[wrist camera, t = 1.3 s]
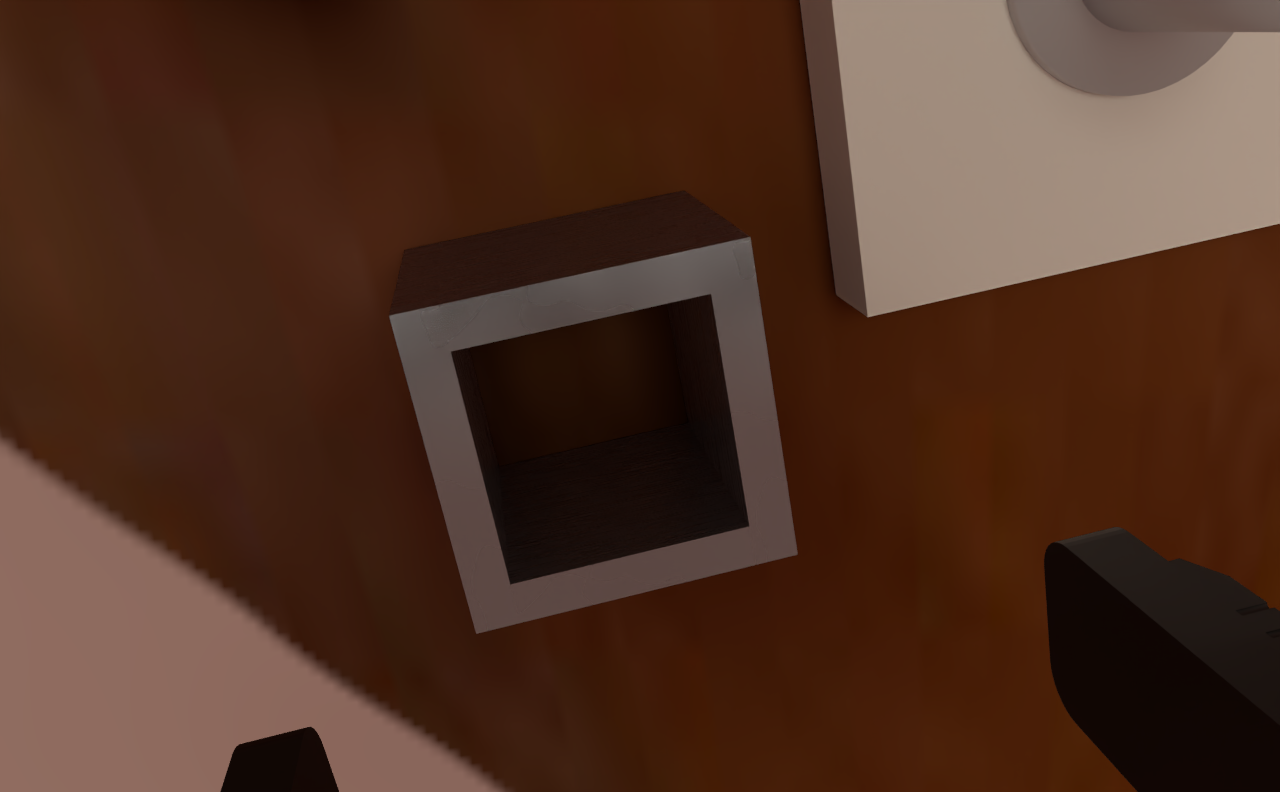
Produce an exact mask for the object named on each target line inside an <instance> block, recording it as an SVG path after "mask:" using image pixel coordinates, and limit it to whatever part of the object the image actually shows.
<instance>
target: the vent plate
mask: <svg viewBox="0 0 1280 792" xmlns="http://www.w3.org/2000/svg"><path fill="white" fill-rule="evenodd" d="M800 7H801V15H802V23H803V31H804V40H805V48H806V56H807V64H808V72H809V80H810V88H811V96H812V104H813V112H814V121H815V129H816V137H817V145H818V153H819V161H820V169H821V177H822V185H823V193H824V202H825V210H826V218H827V226H828V234H829V242H830V250H831V258H832V266H833V274H834V283H835V291H836V295H837V296H838V297H840V298H841V299H842V300H844V301H845V302H847V303H848V304H850V305H851V306H852V307H854V308H855V309H857V310H858V311H860V312H861V313H862V314H864V315H865V316H867V317H871V316H875V315H880V314H884V313H889V312H893V311H897V310H902V309H906V308H911V307H915V306H919V305H924V304H928V303H933V302H937V301H941V300H946V299H950V298H955V297H959V296H963V295H968V294H972V293H977V292H981V291H985V290H990V289H994V288H999V287H1003V286H1007V285H1012V284H1016V283H1021V282H1025V281H1029V280H1034V279H1038V278H1043V277H1047V276H1051V275H1056V274H1060V273H1065V272H1069V271H1073V270H1078V269H1082V268H1087V267H1091V266H1095V265H1100V264H1104V263H1108V262H1113V261H1117V260H1122V259H1126V258H1130V257H1135V256H1139V255H1144V254H1148V253H1152V252H1157V251H1161V250H1166V249H1170V248H1174V247H1179V246H1183V245H1188V244H1192V243H1196V242H1201V241H1205V240H1210V239H1214V238H1218V237H1223V236H1227V235H1232V234H1236V233H1240V232H1245V231H1249V230H1254V229H1258V228H1262V227H1267V226H1271V225H1276V224H1280V0H800Z"/></svg>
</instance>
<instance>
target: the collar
mask: <svg viewBox="0 0 1280 792" xmlns="http://www.w3.org/2000/svg"><path fill="white" fill-rule="evenodd" d="M663 304H667V307H668V313H669V318H670V324H671V330H672V335H673V341H674V346H675V352H676V357H677V363H678V368H679V374H680V379H681V385H682V391H683V396H684V402H685V407H686V413H687V418H688V423H685V424H681V425H676V426H672V427H668V428H663V429H659V430H655V431H651V432H646V433H642V434H638V435H633V436H629V437H625V438H621V439H616V440H612V441H608V442H603V443H599V444H595V445H590V446H586V447H582V448H578V449H573V450H569V451H565V452H560V453H556V454H552V455H548V456H543V457H539V458H535V459H530V460H526V461H522V462H518V463H513V464H509V465H505V466H500V467H499V466H498V462H497V458H496V454H495V450H494V446H493V442H492V438H491V434H490V430H489V426H488V422H487V418H486V414H485V410H484V406H483V402H482V398H481V394H480V390H479V386H478V382H477V378H476V374H475V370H474V366H473V362H472V358H471V354H470V350H469V347H474V346H478V345H483V344H487V343H492V342H496V341H501V340H505V339H510V338H514V337H519V336H523V335H528V334H532V333H537V332H541V331H546V330H550V329H555V328H559V327H564V326H568V325H573V324H577V323H582V322H586V321H591V320H595V319H600V318H604V317H609V316H613V315H618V314H622V313H627V312H631V311H636V310H640V309H645V308H649V307H654V306H658V305H663ZM389 317H390V321H391V325H392V328H393V332H394V336H395V339H396V343H397V347H398V350H399V354H400V358H401V361H402V365H403V369H404V372H405V376H406V379H407V383H408V387H409V390H410V394H411V398H412V401H413V405H414V409H415V412H416V416H417V420H418V423H419V427H420V431H421V434H422V438H423V441H424V445H425V449H426V452H427V456H428V460H429V463H430V467H431V471H432V474H433V478H434V482H435V485H436V489H437V492H438V496H439V500H440V503H441V507H442V511H443V514H444V518H445V522H446V525H447V529H448V533H449V536H450V540H451V544H452V547H453V551H454V554H455V558H456V562H457V565H458V569H459V573H460V576H461V580H462V584H463V587H464V591H465V595H466V598H467V602H468V606H469V609H470V613H471V616H472V620H473V624H474V627H475V631H476V634H477V633H481V632H486V631H490V630H494V629H498V628H502V627H506V626H510V625H514V624H518V623H522V622H526V621H530V620H534V619H538V618H542V617H546V616H550V615H555V614H559V613H563V612H567V611H571V610H575V609H579V608H583V607H587V606H591V605H595V604H599V603H603V602H607V601H611V600H615V599H619V598H623V597H628V596H632V595H636V594H640V593H644V592H648V591H652V590H656V589H660V588H664V587H668V586H672V585H676V584H680V583H684V582H688V581H692V580H696V579H701V578H705V577H709V576H713V575H717V574H721V573H725V572H729V571H733V570H737V569H741V568H745V567H749V566H753V565H757V564H761V563H765V562H769V561H774V560H778V559H782V558H786V557H790V556H794V555H798V553H797V546H796V540H795V533H794V526H793V519H792V513H791V506H790V499H789V493H788V486H787V479H786V473H785V466H784V459H783V452H782V446H781V439H780V432H779V426H778V419H777V412H776V405H775V399H774V392H773V385H772V379H771V372H770V365H769V359H768V352H767V345H766V338H765V332H764V325H763V318H762V312H761V305H760V298H759V291H758V285H757V278H756V271H755V265H754V258H753V251H752V245H751V238H750V236H748V235H747V234H745V233H744V232H743V231H741V230H740V229H738V228H737V227H736V226H734V225H733V224H731V223H730V222H728V221H727V220H726V219H724V218H723V217H721V216H720V215H719V214H717V213H716V212H714V211H713V210H711V209H710V208H709V207H707V206H706V205H704V204H703V203H701V202H700V201H699V200H697V199H696V198H694V197H693V196H692V195H690V194H689V193H687V192H686V191H679V192H675V193H670V194H665V195H661V196H656V197H651V198H647V199H642V200H637V201H632V202H628V203H623V204H618V205H614V206H609V207H604V208H600V209H595V210H590V211H586V212H581V213H576V214H571V215H567V216H562V217H557V218H553V219H548V220H543V221H539V222H534V223H529V224H524V225H520V226H515V227H510V228H506V229H501V230H496V231H492V232H487V233H482V234H477V235H473V236H468V237H463V238H459V239H454V240H449V241H445V242H440V243H435V244H431V245H426V246H421V247H416V248H412V249H407V250H404V254H403V258H402V263H401V267H400V271H399V275H398V280H397V284H396V288H395V292H394V297H393V301H392V305H391V310H390V314H389Z"/></svg>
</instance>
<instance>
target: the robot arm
mask: <svg viewBox="0 0 1280 792" xmlns="http://www.w3.org/2000/svg"><path fill="white" fill-rule="evenodd" d="M1044 569H1045V585H1046V600H1047V616H1048V631H1049V647H1050V662H1051V669H1052V674H1053V678H1054V682H1055V685H1056V688H1057V691H1058V693H1059V696H1060V698H1061V700H1062V702H1063V704H1064V706H1065V708H1066V710H1067V712H1068V713H1069V715H1070V716H1071V718H1072V719H1073V720H1074V721H1075V723H1076V724H1077V725H1078V726H1079V727H1080V728H1081V729H1082V731H1083V732H1084V733H1085V734H1086V735H1087V736H1088V737H1089V738H1090V739H1091V741H1092V742H1093V743H1094V744H1095V745H1096V746H1097V747H1098V748H1099V749H1100V751H1101V752H1102V753H1103V754H1104V755H1105V756H1106V757H1107V758H1108V759H1109V760H1110V762H1111V763H1112V764H1113V765H1114V766H1115V767H1116V768H1117V769H1118V770H1119V772H1120V773H1121V774H1122V775H1123V776H1124V777H1125V778H1126V779H1127V780H1128V782H1129V783H1130V784H1131V785H1132V786H1133V787H1134V788H1135V789H1136V790H1137V792H1280V611H1278V610H1277V609H1276V608H1271V609H1269V607H1268V606H1267V602H1266V601H1264V600H1263V599H1261V598H1260V597H1258V596H1257V595H1255V594H1254V593H1253V592H1251V591H1250V590H1248V589H1247V588H1245V587H1244V586H1243V585H1241V584H1240V583H1238V582H1237V581H1235V580H1234V579H1232V578H1231V577H1230V576H1227V575H1224V574H1221V573H1219V572H1216V571H1213V570H1210V569H1207V568H1205V567H1202V566H1199V565H1196V564H1193V563H1191V562H1188V561H1185V560H1182V559H1176V560H1172V561H1167V560H1166V559H1164V558H1163V557H1162V556H1160V555H1159V554H1158V553H1156V552H1155V551H1154V550H1152V549H1151V548H1149V547H1148V546H1147V545H1145V544H1144V543H1143V542H1141V541H1140V540H1139V539H1137V538H1136V537H1135V536H1133V535H1132V534H1130V533H1129V532H1128V531H1126V530H1124V529H1122V528H1119V527H1113V528H1109V529H1105V530H1101V531H1097V532H1093V533H1089V534H1086V535H1082V536H1078V537H1074V538H1070V539H1066V540H1062V541H1058V542H1054V543H1051V544H1050V545H1049V546H1048V548H1047V549H1046V553H1045V559H1044ZM221 792H339V790H338V787H337V784H336V782H335V779H334V776H333V773H332V770H331V767H330V764H329V761H328V758H327V755H326V752H325V750H324V747H323V744H322V741H321V739H320V737H319V735H318V733H317V732H316V731H315V729H313V728H312V727H307V728H303V729H299V730H295V731H291V732H287V733H283V734H279V735H275V736H271V737H267V738H263V739H259V740H255V741H251V742H247V743H243V744H239V745H238V746H237V747H236V748H235V750H234V752H233V754H232V758H231V761H230V764H229V767H228V770H227V773H226V776H225V779H224V783H223V786H222V789H221Z"/></svg>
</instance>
